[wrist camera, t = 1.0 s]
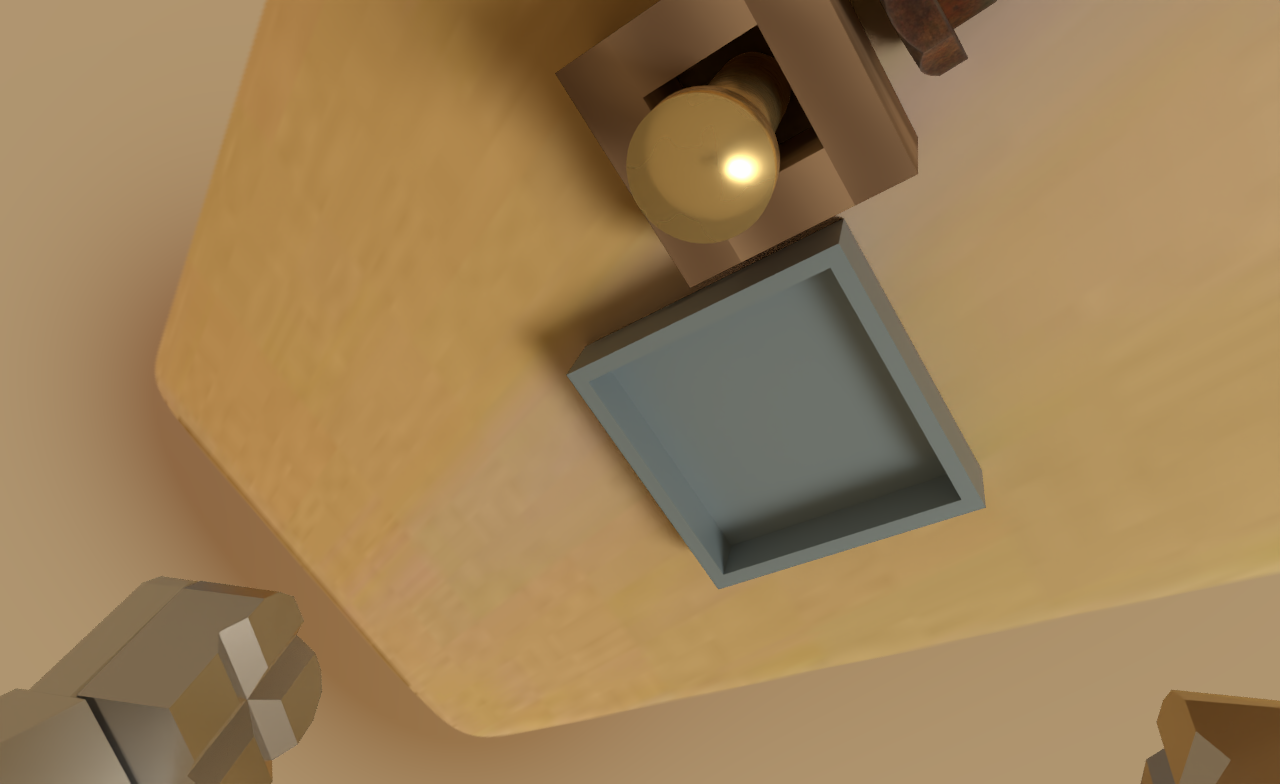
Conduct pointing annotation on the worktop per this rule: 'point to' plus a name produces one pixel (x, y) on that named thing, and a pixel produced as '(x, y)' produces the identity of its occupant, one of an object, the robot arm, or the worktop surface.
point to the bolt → (933, 29)
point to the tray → (782, 413)
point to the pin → (711, 152)
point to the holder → (820, 78)
